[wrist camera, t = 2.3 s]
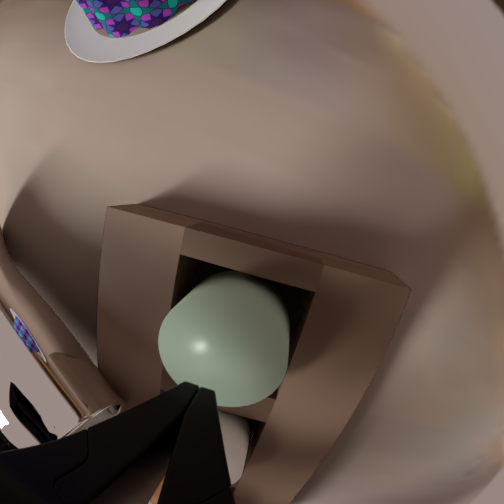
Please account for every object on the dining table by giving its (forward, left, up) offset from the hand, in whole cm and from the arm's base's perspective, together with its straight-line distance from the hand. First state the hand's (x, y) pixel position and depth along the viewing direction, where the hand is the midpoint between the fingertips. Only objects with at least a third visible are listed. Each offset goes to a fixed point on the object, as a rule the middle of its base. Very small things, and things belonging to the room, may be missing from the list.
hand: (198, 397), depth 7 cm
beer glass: (-1, +19, -4) cm, 19 cm away
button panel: (-6, 0, -6) cm, 9 cm away
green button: (0, 0, -5) cm, 5 cm away
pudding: (+17, +10, -7) cm, 21 cm away
